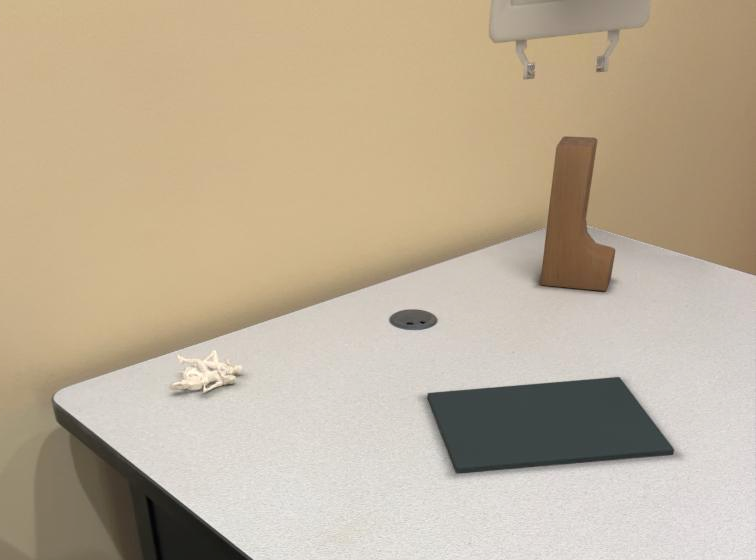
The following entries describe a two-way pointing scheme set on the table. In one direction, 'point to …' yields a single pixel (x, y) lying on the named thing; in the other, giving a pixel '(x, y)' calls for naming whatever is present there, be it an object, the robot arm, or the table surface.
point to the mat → (545, 425)
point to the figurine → (206, 373)
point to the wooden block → (574, 222)
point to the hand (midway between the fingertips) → (564, 75)
